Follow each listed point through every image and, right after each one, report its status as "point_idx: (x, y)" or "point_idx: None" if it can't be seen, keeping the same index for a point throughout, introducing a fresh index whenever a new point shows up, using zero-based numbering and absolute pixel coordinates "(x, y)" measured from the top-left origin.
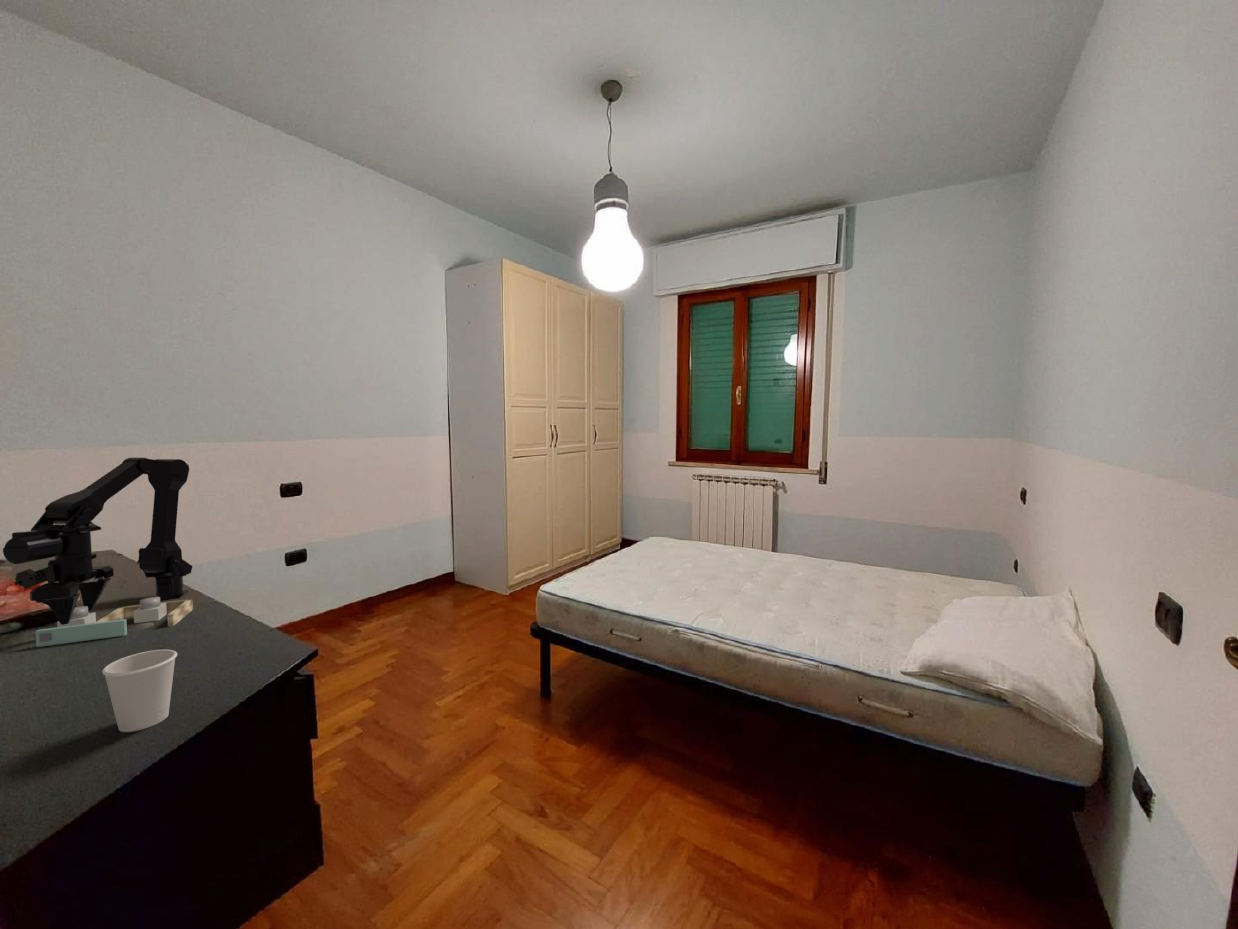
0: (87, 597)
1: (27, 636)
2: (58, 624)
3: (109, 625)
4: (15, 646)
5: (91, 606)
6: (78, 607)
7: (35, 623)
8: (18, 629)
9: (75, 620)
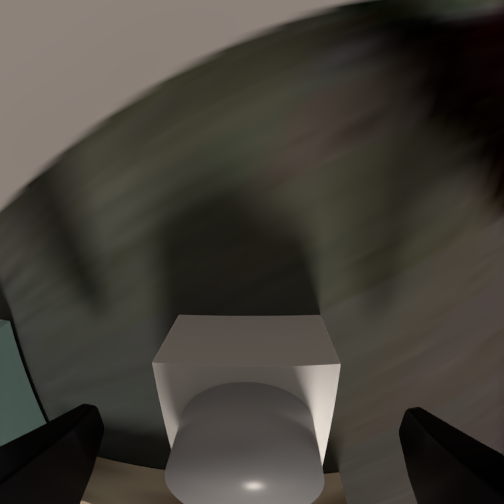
0: (451, 500)
1: (213, 135)
2: (158, 357)
3: None
4: (40, 192)
5: (409, 455)
6: (290, 486)
7: (489, 66)
8: (410, 17)
9: (169, 442)
